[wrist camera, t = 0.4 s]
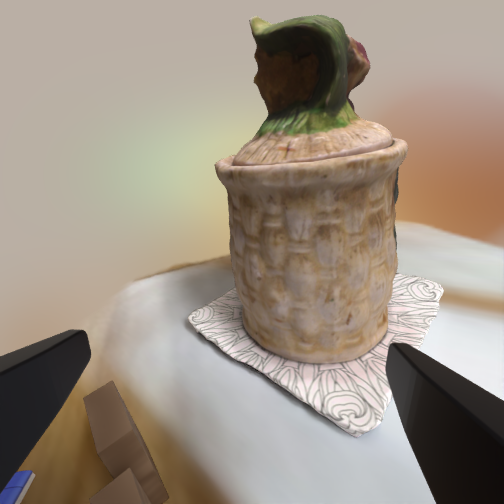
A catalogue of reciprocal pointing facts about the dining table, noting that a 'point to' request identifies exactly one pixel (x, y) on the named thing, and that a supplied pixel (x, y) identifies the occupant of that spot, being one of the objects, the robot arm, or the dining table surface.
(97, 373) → the dining table surface
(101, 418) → the domino
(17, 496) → the hard drive
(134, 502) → the domino
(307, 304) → the cookie jar
